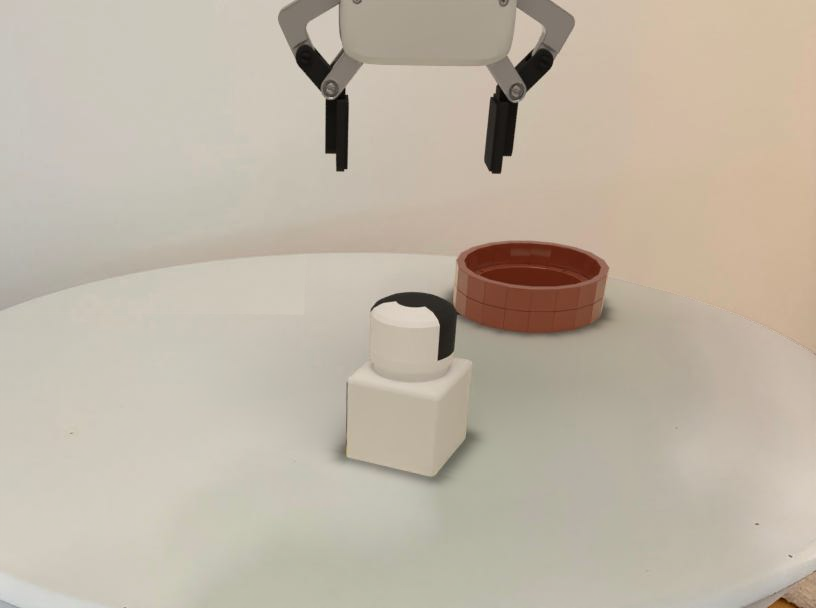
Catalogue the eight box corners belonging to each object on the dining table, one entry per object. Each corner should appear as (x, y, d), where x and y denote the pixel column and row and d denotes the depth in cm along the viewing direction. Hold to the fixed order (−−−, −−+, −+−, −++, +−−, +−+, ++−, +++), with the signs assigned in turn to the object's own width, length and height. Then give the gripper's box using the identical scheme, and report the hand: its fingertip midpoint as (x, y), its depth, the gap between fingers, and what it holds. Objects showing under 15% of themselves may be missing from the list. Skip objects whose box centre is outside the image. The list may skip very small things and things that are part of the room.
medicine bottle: (382, 428, 79) (387, 277, 72) (466, 446, 77) (480, 292, 69) (344, 467, 74) (345, 309, 67) (432, 488, 72) (444, 327, 64)
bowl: (583, 289, 105) (590, 240, 102) (614, 342, 93) (624, 289, 90) (446, 289, 105) (449, 240, 102) (461, 342, 93) (465, 289, 90)
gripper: (586, -178, 55) (542, 155, 66) (277, -184, 55) (282, 152, 65) (617, -182, 49) (563, 185, 60) (271, -189, 49) (278, 181, 60)
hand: (416, 167), depth 63 cm, fingers open, 9 cm apart
